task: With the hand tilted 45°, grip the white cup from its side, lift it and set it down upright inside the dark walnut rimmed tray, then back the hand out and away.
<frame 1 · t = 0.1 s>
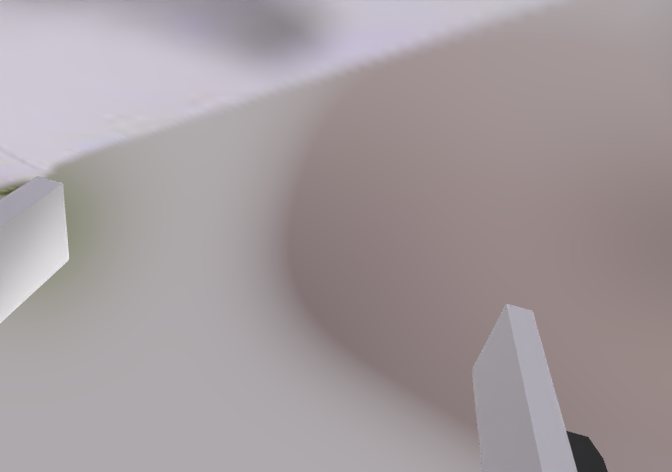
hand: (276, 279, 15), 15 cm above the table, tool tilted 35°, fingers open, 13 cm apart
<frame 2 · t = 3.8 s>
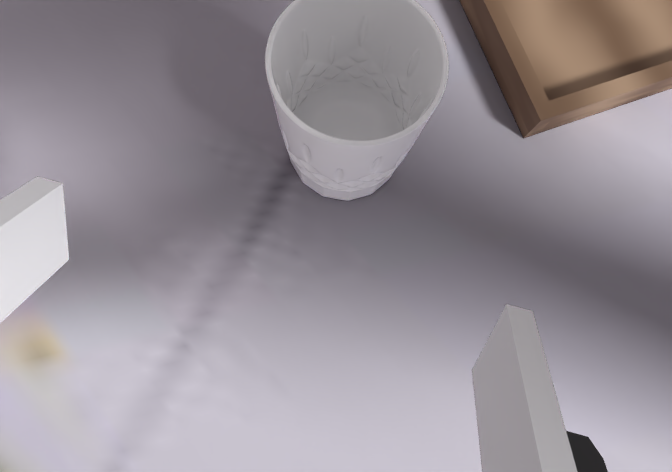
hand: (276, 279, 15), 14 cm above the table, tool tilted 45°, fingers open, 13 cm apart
white cup: (343, 150, 32), on the table
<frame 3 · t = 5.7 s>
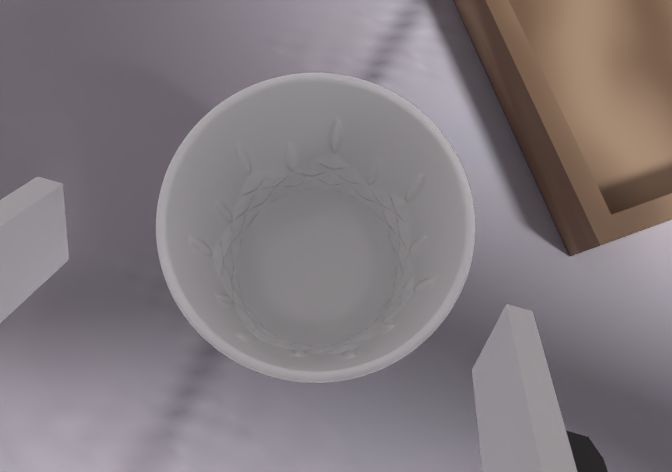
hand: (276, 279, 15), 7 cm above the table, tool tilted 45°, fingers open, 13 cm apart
walnut tray: (653, 31, 26), on the table
white cup: (316, 274, 22), on the table
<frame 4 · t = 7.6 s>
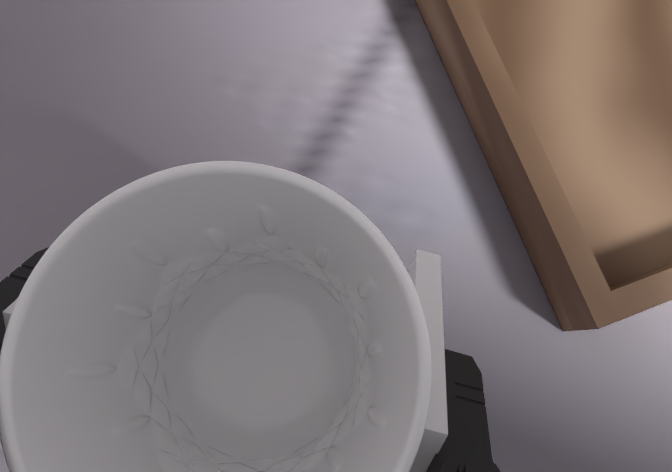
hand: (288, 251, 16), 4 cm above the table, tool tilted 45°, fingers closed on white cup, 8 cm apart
walnut tray: (656, 66, 22), on the table
white cup: (268, 356, 19), on the table, touching gripper
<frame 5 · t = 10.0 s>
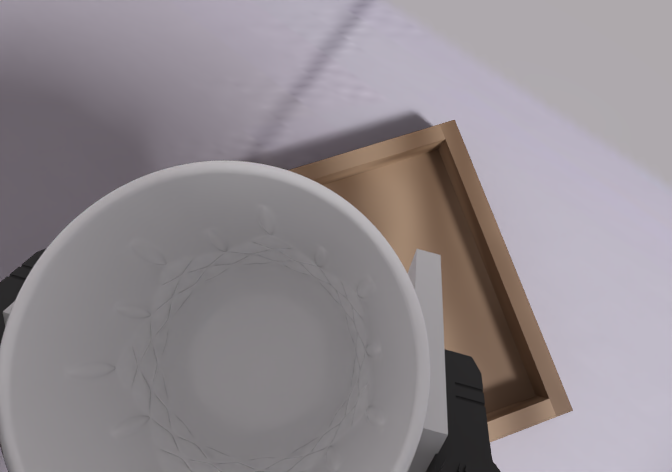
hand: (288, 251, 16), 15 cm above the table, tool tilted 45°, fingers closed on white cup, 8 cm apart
walnut tray: (360, 309, 31), on the table
white cup: (267, 356, 19), point 11 cm above the table, touching gripper
when the fingers open (6 cm above the table, at t = 12.6 s): white cup drops 2 cm, resting on walnut tray.
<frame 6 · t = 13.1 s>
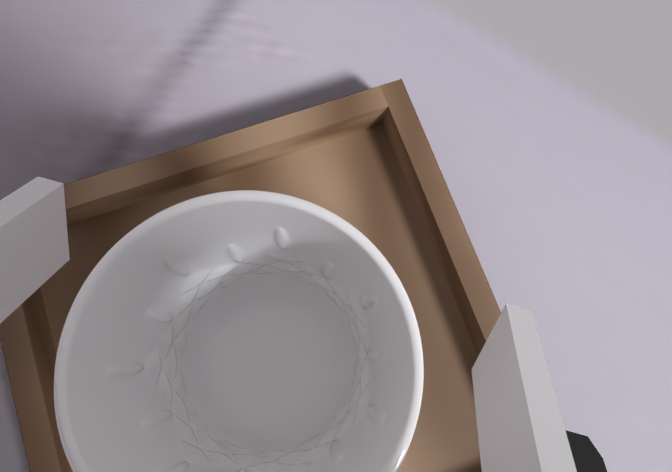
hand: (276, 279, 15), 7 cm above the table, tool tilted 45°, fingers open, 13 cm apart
walnut tray: (272, 355, 21), on the table
white cup: (275, 357, 21), point 1 cm above the table, touching walnut tray
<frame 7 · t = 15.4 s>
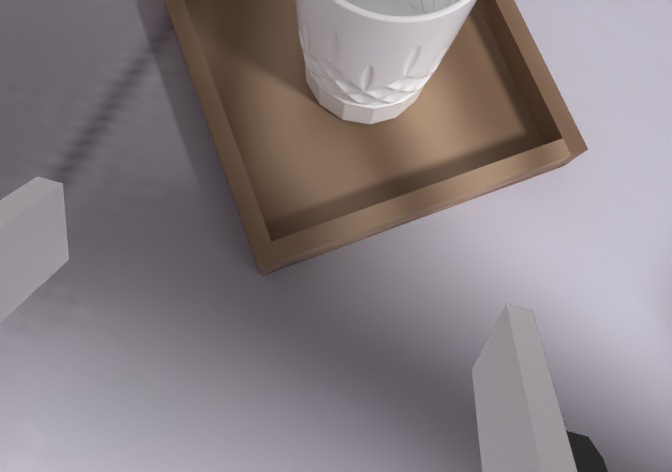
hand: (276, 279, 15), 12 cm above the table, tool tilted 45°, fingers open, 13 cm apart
walnut tray: (359, 75, 29), on the table
white cup: (364, 71, 29), point 1 cm above the table, touching walnut tray
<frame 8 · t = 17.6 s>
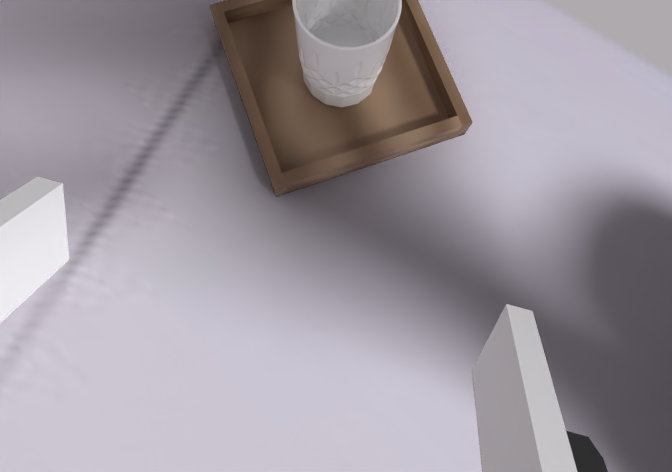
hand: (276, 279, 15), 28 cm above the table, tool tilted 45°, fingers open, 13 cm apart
walnut tray: (337, 77, 47), on the table
white cup: (339, 75, 46), point 1 cm above the table, touching walnut tray
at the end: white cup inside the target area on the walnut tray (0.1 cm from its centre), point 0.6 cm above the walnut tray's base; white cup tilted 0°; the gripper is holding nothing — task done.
